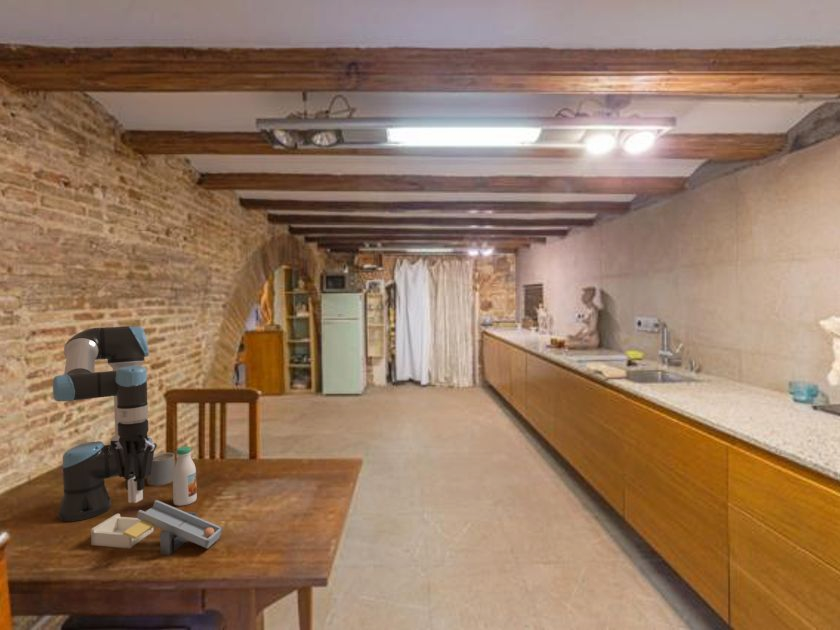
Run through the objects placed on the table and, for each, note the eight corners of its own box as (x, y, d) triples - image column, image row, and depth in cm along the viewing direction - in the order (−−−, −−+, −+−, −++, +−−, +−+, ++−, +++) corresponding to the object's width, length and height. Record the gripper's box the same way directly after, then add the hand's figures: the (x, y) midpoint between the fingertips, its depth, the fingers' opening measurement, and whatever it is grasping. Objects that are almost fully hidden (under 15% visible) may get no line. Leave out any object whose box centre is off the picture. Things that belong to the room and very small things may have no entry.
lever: (117, 532, 131) (119, 522, 131) (156, 506, 147) (159, 498, 146) (190, 564, 128) (193, 554, 128) (222, 534, 143) (225, 525, 143)
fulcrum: (160, 554, 134) (159, 532, 134) (188, 531, 147) (188, 511, 147) (169, 555, 134) (169, 533, 133) (197, 532, 146) (196, 512, 146)
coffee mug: (180, 476, 192) (179, 453, 191) (163, 486, 182) (162, 461, 181) (152, 474, 194) (151, 451, 194) (134, 484, 184) (133, 459, 184)
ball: (200, 539, 137) (202, 529, 137) (206, 533, 140) (208, 524, 140) (209, 541, 137) (211, 531, 137) (215, 536, 140) (217, 526, 140)
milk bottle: (181, 508, 163) (179, 453, 162) (169, 503, 167) (167, 449, 166) (201, 499, 170) (199, 446, 169) (189, 495, 174) (187, 443, 173)
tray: (91, 545, 139) (90, 529, 139) (117, 528, 149) (117, 513, 149) (129, 548, 137) (128, 532, 137) (153, 531, 147) (153, 516, 147)
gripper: (100, 423, 129) (103, 504, 130) (145, 425, 127) (147, 508, 128) (121, 416, 137) (124, 493, 138) (164, 417, 134) (166, 496, 135)
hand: (135, 500), depth 133 cm, fingers closed
